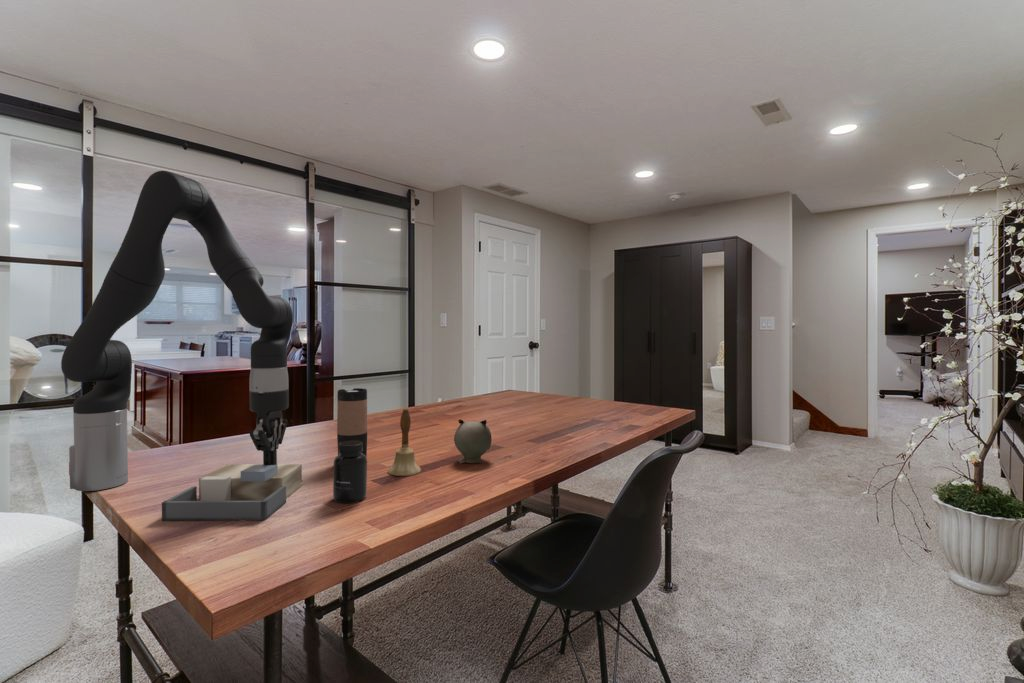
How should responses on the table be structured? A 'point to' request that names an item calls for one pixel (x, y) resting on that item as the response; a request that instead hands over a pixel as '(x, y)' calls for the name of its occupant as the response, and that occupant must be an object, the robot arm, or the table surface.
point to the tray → (220, 507)
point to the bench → (259, 490)
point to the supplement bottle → (350, 473)
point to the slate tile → (259, 473)
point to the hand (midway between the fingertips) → (270, 467)
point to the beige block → (215, 488)
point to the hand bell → (404, 452)
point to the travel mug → (352, 417)
